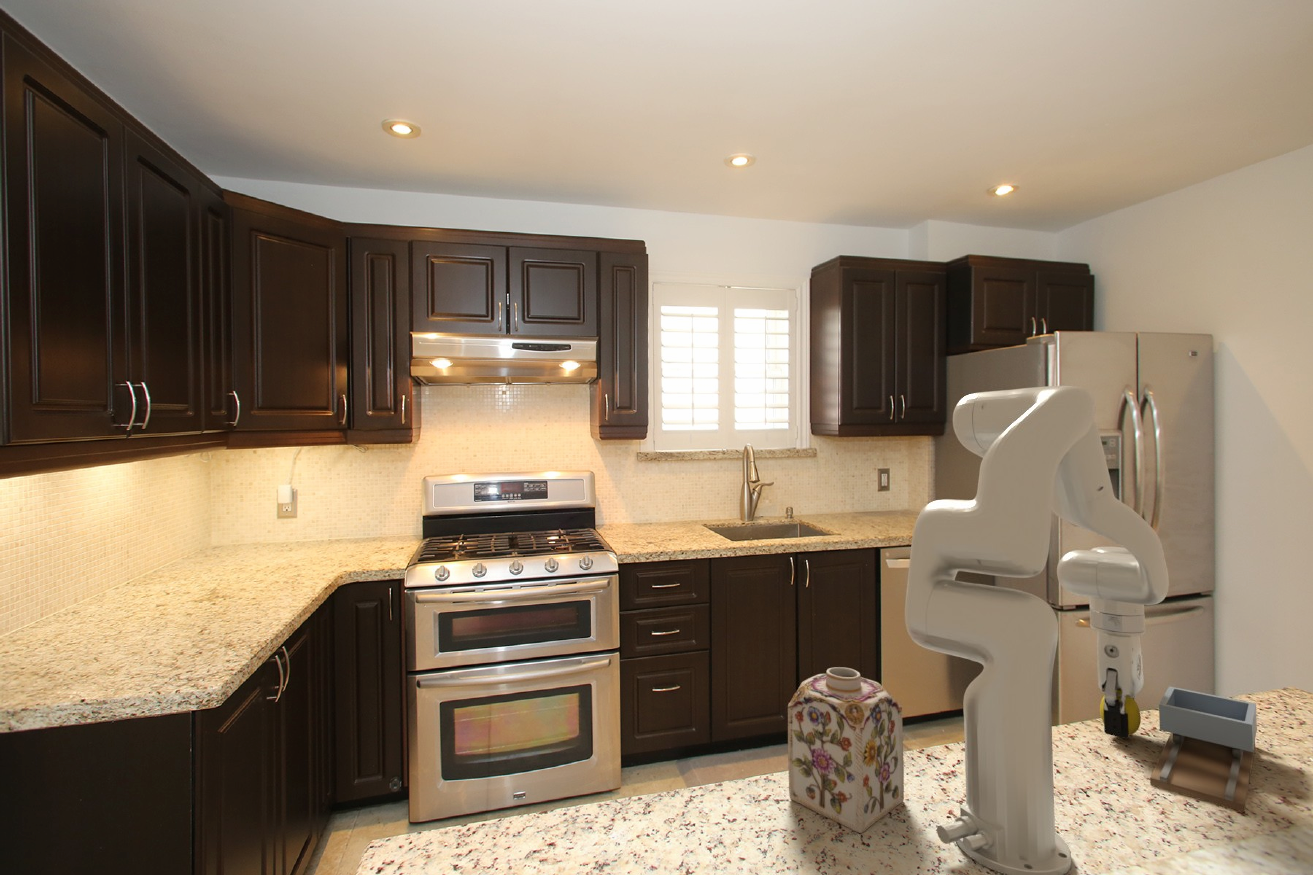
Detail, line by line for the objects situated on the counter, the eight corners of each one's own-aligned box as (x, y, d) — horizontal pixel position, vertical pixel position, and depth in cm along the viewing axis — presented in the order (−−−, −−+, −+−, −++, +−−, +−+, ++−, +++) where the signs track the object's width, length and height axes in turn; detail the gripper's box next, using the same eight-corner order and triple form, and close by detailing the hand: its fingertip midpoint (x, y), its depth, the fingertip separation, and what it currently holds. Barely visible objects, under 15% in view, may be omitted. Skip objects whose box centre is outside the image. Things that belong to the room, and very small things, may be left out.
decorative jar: (786, 799, 89) (783, 671, 90) (833, 771, 97) (830, 652, 97) (863, 837, 80) (860, 694, 81) (908, 802, 88) (904, 672, 88)
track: (1244, 811, 84) (1243, 781, 84) (1150, 784, 91) (1149, 756, 92) (1255, 746, 102) (1254, 721, 103) (1175, 727, 110) (1175, 704, 110)
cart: (1253, 765, 93) (1251, 724, 93) (1160, 742, 100) (1158, 704, 101) (1257, 741, 100) (1255, 703, 100) (1170, 721, 108) (1169, 686, 108)
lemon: (1127, 730, 109) (1126, 684, 109) (1149, 745, 103) (1147, 696, 103) (1093, 729, 109) (1092, 683, 109) (1113, 744, 104) (1111, 695, 104)
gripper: (1134, 636, 98) (1138, 754, 98) (1153, 615, 110) (1157, 720, 110) (1078, 627, 103) (1081, 739, 103) (1101, 608, 115) (1104, 708, 115)
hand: (1120, 728), depth 106 cm, fingers closed on lemon, 5 cm apart
